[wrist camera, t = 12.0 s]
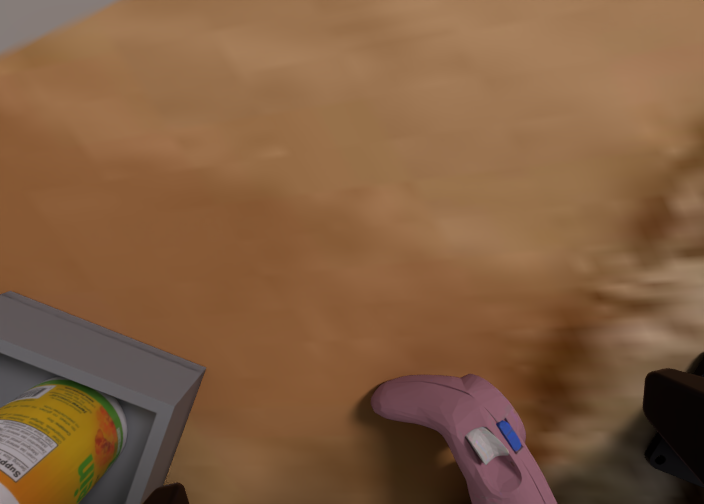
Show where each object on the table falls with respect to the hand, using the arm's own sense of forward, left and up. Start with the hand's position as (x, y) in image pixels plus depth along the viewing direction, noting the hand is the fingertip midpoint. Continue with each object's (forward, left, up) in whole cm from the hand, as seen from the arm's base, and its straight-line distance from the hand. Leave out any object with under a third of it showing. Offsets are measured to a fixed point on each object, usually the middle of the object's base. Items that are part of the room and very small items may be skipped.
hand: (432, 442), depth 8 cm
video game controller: (-6, +7, -12) cm, 15 cm away
